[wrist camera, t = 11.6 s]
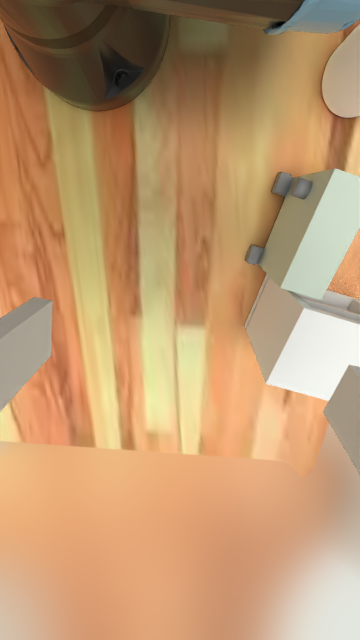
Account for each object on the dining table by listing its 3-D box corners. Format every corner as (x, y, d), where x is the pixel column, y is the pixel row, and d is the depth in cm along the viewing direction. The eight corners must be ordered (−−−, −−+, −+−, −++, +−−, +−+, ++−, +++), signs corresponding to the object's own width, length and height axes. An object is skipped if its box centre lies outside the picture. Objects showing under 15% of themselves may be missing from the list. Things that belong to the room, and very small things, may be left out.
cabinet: (278, 173, 31) (330, 156, 19) (403, 214, 32) (527, 223, 20) (222, 319, 38) (233, 374, 26) (325, 349, 39) (381, 415, 27)
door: (283, 174, 31) (320, 163, 21) (327, 188, 31) (382, 184, 22) (248, 261, 35) (267, 284, 25) (287, 273, 35) (320, 300, 26)
